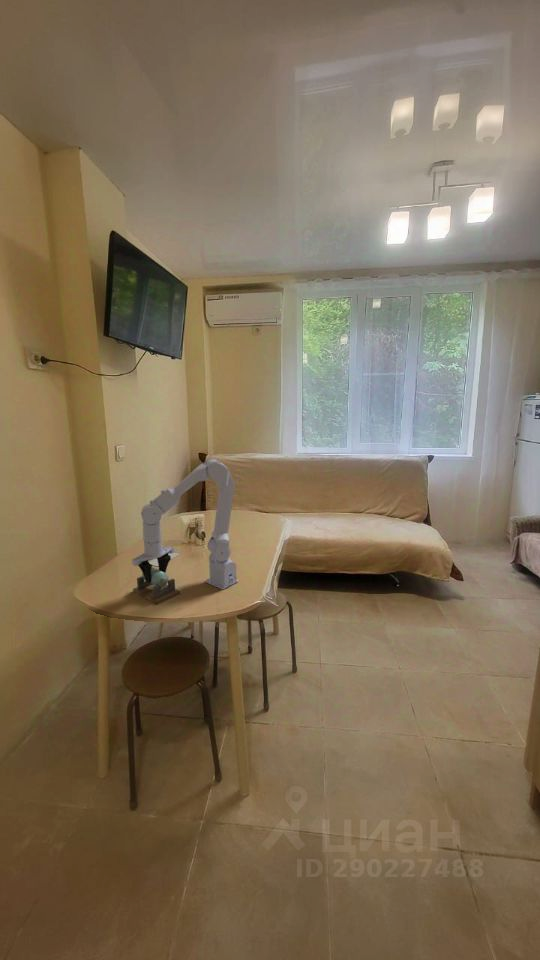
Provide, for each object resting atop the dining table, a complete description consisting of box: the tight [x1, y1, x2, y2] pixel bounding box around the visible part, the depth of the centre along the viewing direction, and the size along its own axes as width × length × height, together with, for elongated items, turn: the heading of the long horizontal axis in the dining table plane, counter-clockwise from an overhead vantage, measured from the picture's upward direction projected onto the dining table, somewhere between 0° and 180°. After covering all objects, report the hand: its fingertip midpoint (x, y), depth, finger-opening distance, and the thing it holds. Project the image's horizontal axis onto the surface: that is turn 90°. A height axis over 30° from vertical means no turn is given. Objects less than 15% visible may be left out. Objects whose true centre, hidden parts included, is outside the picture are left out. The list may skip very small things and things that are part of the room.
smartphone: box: [148, 551, 182, 568], centre depth 151 cm, size 7×1×15 cm
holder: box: [132, 575, 181, 605], centre depth 122 cm, size 14×9×5 cm, turn 51°
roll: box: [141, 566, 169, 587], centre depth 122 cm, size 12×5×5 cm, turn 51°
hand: (155, 578), depth 122 cm, fingers closed on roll, 5 cm apart
